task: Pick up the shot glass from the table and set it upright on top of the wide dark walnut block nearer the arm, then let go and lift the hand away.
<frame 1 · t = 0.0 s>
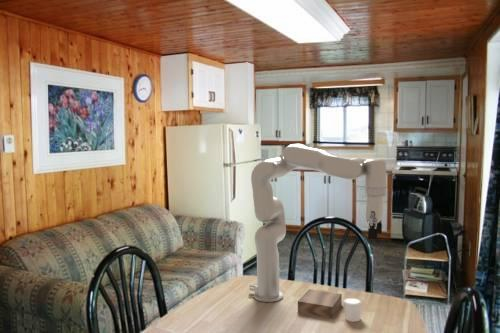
hand: (375, 235, 172), 31 cm above the table, tool pointing down, fingers open, 9 cm apart
walnut block: (320, 309, 181), on the table
shot glass: (352, 319, 172), on the table
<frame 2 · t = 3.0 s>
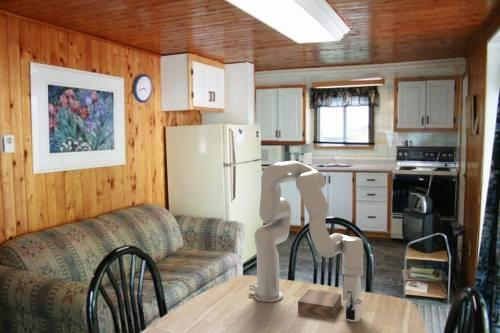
hand: (352, 315, 171), 1 cm above the table, tool pointing down, fingers closed on shot glass, 6 cm apart
shot glass: (352, 318, 172), on the table, touching gripper
everything else where it was.
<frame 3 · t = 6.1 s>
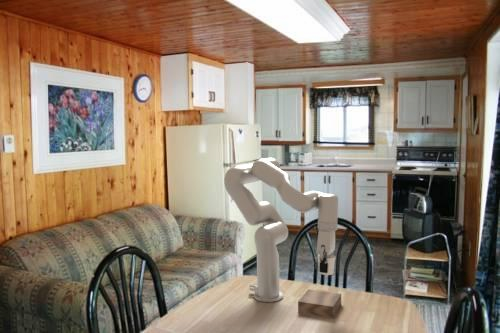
hand: (326, 269, 178), 17 cm above the table, tool pointing down, fingers closed on shot glass, 6 cm apart
shot glass: (326, 272, 178), point 15 cm above the table, touching gripper
everything else where it was.
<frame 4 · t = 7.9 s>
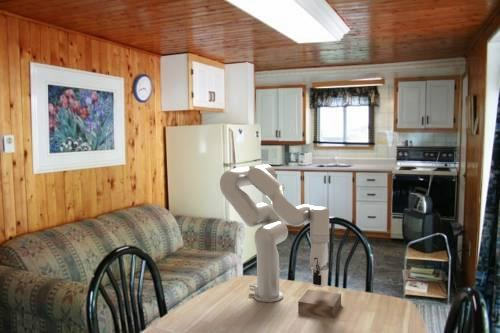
hand: (319, 281, 180), 11 cm above the table, tool pointing down, fingers closed on shot glass, 6 cm apart
shot glass: (319, 284, 180), point 10 cm above the table, touching gripper
everything else where it was.
when the fingers open (7 cm above the table, at t = 9.2 s): shot glass drops 2 cm, resting on walnut block.
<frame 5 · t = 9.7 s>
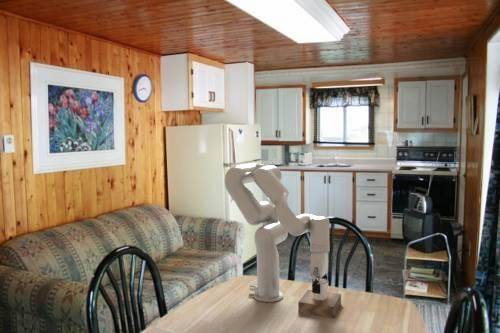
hand: (320, 289, 180), 8 cm above the table, tool pointing down, fingers open, 9 cm apart
walnut block: (320, 309, 181), on the table, touching shot glass
shot glass: (319, 298, 181), point 4 cm above the table, touching walnut block
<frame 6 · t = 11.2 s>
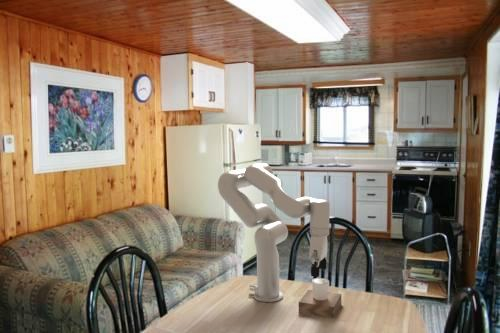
hand: (318, 272, 180), 15 cm above the table, tool pointing down, fingers open, 9 cm apart
nothing on the table moved.
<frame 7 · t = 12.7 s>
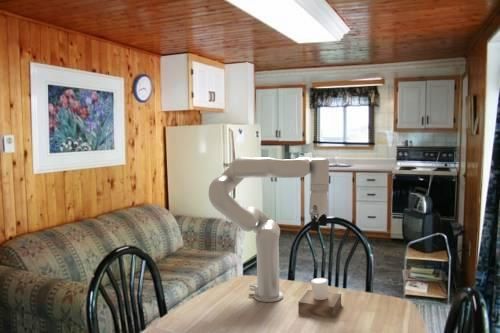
hand: (319, 228, 188), 31 cm above the table, tool pointing down, fingers open, 9 cm apart
nothing on the table moved.
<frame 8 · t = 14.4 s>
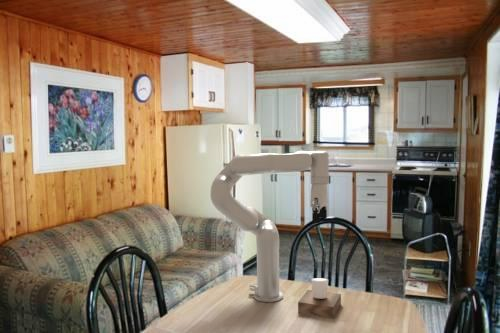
hand: (319, 220, 191), 33 cm above the table, tool pointing down, fingers open, 9 cm apart
at the end: shot glass 0.1 cm from the walnut block (horizontally); shot glass point 4.7 cm above the table; shot glass tilted 8° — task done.
